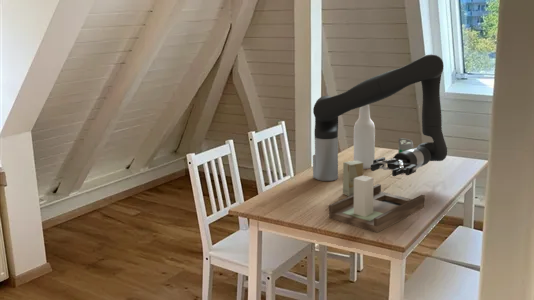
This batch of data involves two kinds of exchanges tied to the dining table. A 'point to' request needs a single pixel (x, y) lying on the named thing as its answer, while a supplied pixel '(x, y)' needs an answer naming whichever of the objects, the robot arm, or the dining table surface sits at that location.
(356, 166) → the skincare box
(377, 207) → the channel
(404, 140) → the food container
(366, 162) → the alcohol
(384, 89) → the robot arm
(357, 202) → the block
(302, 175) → the dining table surface
